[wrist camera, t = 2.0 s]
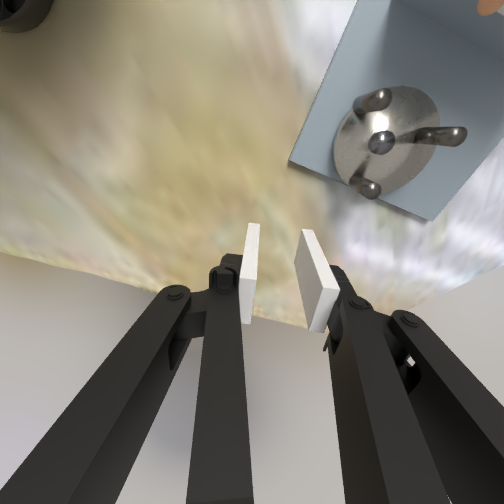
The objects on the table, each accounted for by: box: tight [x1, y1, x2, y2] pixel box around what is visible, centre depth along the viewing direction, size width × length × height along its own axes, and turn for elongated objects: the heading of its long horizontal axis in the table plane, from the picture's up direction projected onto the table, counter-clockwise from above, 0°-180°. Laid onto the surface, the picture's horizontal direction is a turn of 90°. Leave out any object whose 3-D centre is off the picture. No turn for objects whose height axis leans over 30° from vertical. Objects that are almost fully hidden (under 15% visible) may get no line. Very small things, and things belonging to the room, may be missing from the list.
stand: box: [289, 0, 504, 221], centre depth 24 cm, size 24×20×11 cm
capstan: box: [332, 86, 468, 199], centre depth 26 cm, size 12×12×8 cm
